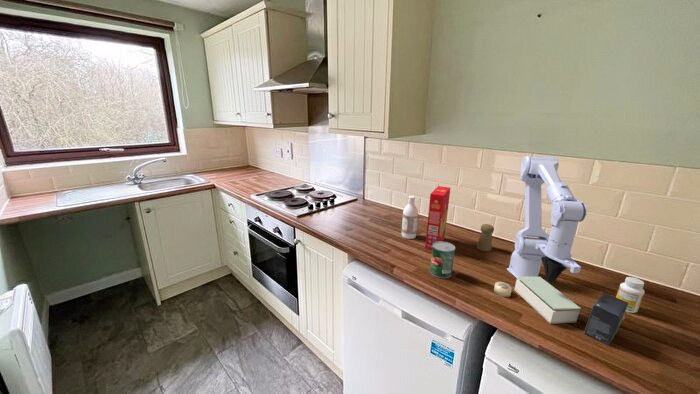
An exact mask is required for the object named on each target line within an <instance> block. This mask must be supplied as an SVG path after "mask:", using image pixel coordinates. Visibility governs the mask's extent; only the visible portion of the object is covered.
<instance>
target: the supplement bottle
mask: <svg viewBox="0 0 700 394" xmlns="http://www.w3.org/2000/svg"><path fill="white" fill-rule="evenodd" d="M644 287H645V282H644V280H641V279H639V278H637V277H633V276H626V278H625V280H624V282H621V283H620V284H619V287H618V290H617V293H616V296H615V297H616V298H618V299H621V300H623V301H626V302H628V306H627V309H626V311H625V313H631V314H635V313H638V311H639V309H640V306H641V304H642V301H643V298H644V295H645V289H644Z"/></svg>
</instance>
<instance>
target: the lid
mask: <svg viewBox="0 0 700 394" xmlns="http://www.w3.org/2000/svg"><path fill="white" fill-rule="evenodd" d="M518 279H520V280H521V281H522V282H523V283H524V284H525V285H527V286H528V287H529V288H530V289H531V290H532V291H533V292H535V293H536V294H537V295H538V296H539V297H540V298H541V299H543V300H544V301H545V302H546V303H547V304H548V305H549V306H551V307H552V308H553V309H554V310H579V311H580V310H582V308H581V307H580V306H579V305H577V304H576V303H575V302H573V301H572V300H571V299H570V298H568V297H567V296H565V294H564V293H562V292H561V291H560V290H558V289H557V288H555V286H553V285H551V283H550V282H548V281H547V280H546V279H543V278H542V276H538V277H527V276H518Z"/></svg>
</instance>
